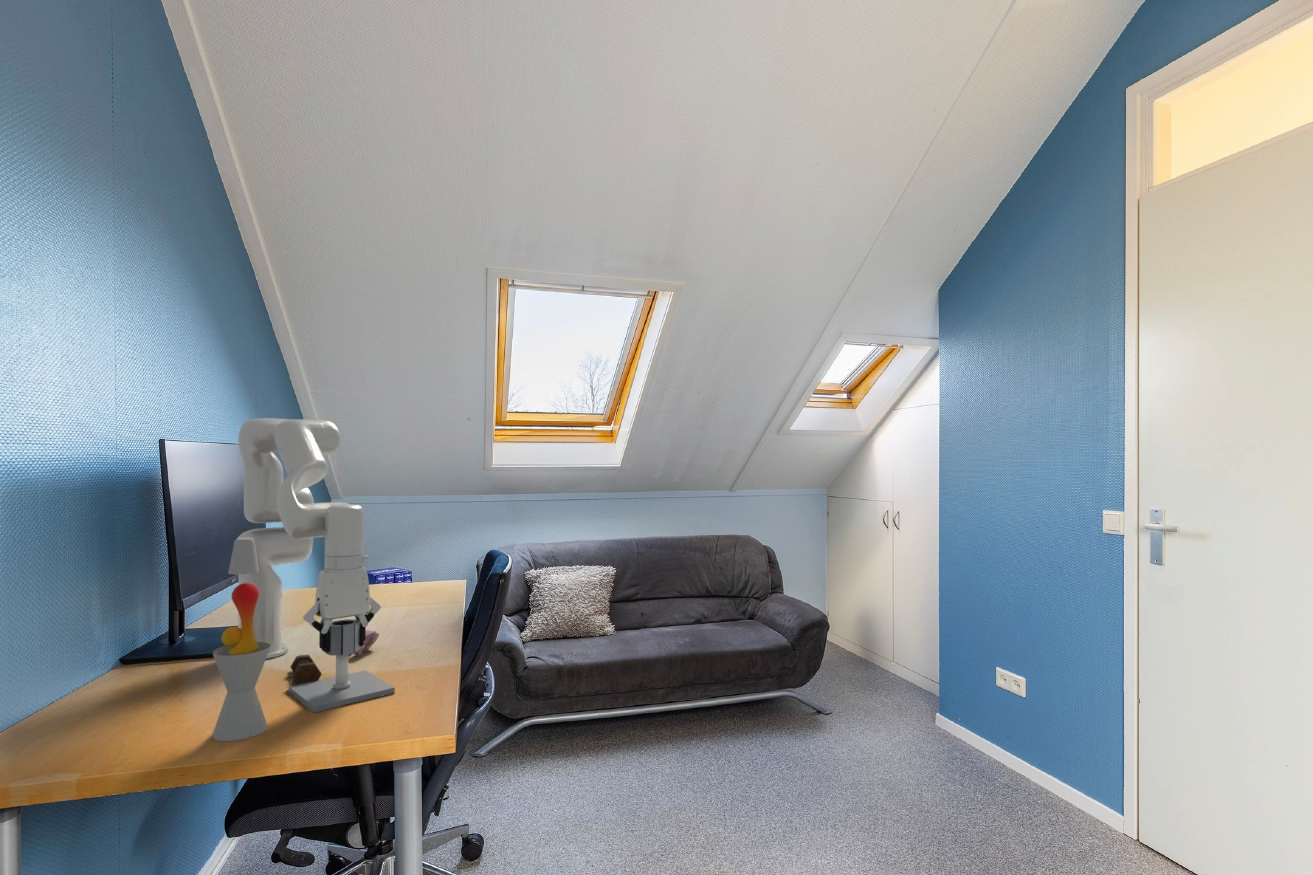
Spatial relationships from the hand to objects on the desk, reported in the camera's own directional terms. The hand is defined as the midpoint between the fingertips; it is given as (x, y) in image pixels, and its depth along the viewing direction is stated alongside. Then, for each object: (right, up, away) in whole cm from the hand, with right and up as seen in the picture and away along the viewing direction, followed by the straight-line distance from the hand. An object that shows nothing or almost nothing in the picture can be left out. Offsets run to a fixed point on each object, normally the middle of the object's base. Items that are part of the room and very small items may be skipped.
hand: (342, 647), depth 144 cm
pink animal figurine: (-9, -11, +28) cm, 31 cm away
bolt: (-13, -10, +9) cm, 19 cm away
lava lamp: (-9, -9, -20) cm, 24 cm away
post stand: (0, -10, 0) cm, 10 cm away
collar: (0, -1, 0) cm, 1 cm away
